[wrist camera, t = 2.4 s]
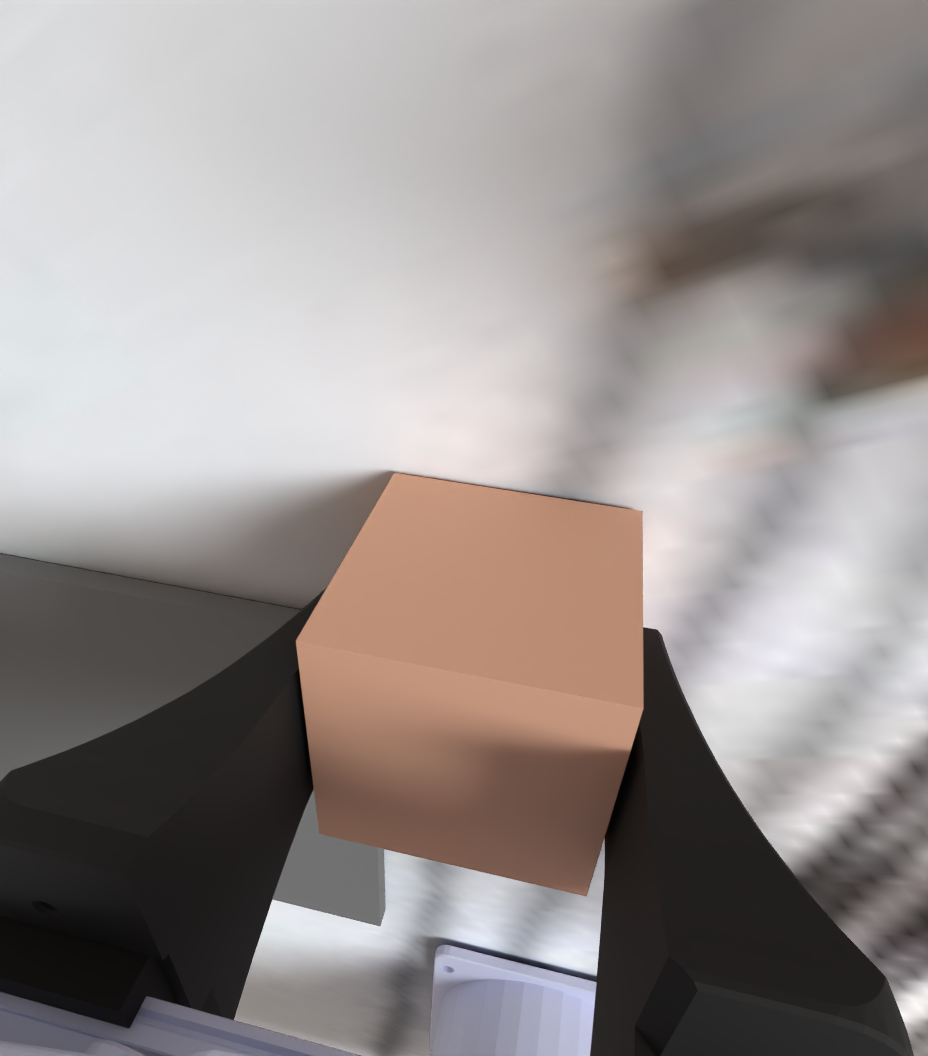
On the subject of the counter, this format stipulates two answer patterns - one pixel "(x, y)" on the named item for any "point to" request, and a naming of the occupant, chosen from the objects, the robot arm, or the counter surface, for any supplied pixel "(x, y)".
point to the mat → (147, 691)
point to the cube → (478, 679)
